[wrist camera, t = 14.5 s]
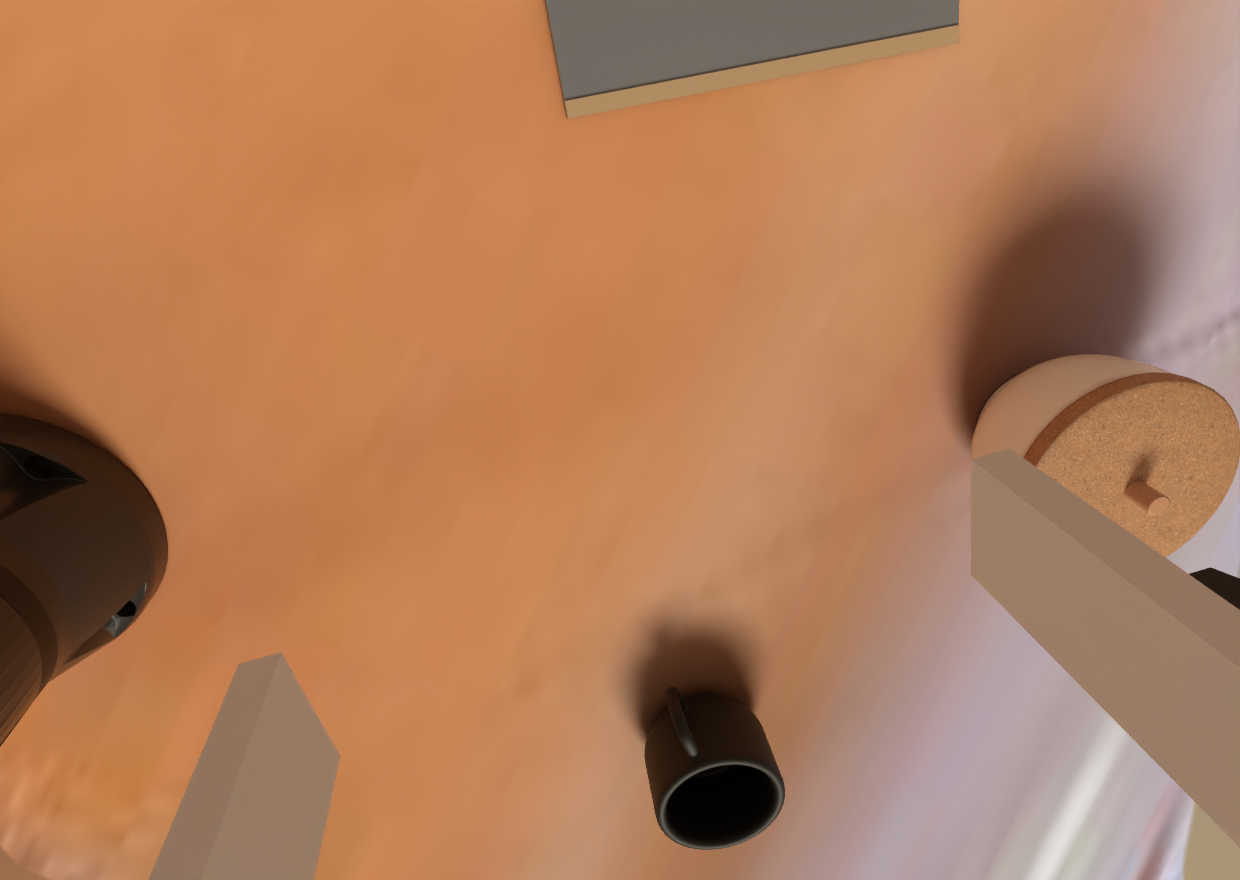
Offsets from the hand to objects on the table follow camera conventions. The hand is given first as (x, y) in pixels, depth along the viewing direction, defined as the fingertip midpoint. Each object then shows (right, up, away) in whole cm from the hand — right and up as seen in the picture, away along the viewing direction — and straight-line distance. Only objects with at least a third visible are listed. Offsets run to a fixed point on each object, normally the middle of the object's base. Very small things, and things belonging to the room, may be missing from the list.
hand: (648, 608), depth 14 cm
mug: (+5, -17, +42) cm, 46 cm away
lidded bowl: (+26, +5, +35) cm, 44 cm away
